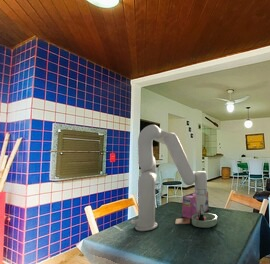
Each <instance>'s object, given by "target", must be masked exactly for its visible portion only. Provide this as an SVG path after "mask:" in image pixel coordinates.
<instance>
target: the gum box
mask: <svg viewBox="0 0 270 264" xmlns="http://www.w3.org/2000/svg"><path fill="white" fill-rule="evenodd" d="M181 198H182V199H181V201H182V202H181V205H182V206H181V207H182V208H181V209H182V211H181V212H182V213H181V214H182V215H181V216H182V218H190V220H192V216H193V215H194V214H198V212H197V211H196V195H195V191H194V192H192V193H188V194H185V195H182V197H181ZM209 209H210V208H209V190H207V195H205V212H204V213H207V212H208V211H209Z"/></svg>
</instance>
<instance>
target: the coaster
mask: <svg viewBox="0 0 270 264" xmlns="http://www.w3.org/2000/svg"><path fill="white" fill-rule="evenodd" d="M190 224H191V219H190V218H185V217H182V218H175V221H174V225H190Z"/></svg>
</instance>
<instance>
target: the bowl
mask: <svg viewBox="0 0 270 264" xmlns="http://www.w3.org/2000/svg"><path fill="white" fill-rule="evenodd" d="M198 215H199V214H194V215H193V216H192V219H191V225H192V226H193V227H196V228H197V227H198V228H201V229H202V228H204V229H205V228H207V229H208V228H211V227H214V226H216V225H217V224H218V216H217V215H216V214H214V213H211V212H204V217H206V221H199V220H196V217H198Z"/></svg>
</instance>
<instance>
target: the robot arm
mask: <svg viewBox="0 0 270 264" xmlns="http://www.w3.org/2000/svg"><path fill="white" fill-rule="evenodd" d="M137 137H138V138H137V155H138V156H137V158H138V161H137V162H138V163H137V164H138V167H139V168H140V175H139V177H138V180H137V191H138V192H137V193H138V203H137V204H138V205H137V208H138V209H137V211H138V212H137V219H131V220H130V221H129V223H130V225H132V226H133V225H135V226H134V229H135V230H136V231H139V232H149V231H152V230H155V229H157V228H158V223H157V222H156V182H157V179H158V176H157V161H156V157H155V155H154V150H153V149H154V147H153V141H155V142H157V143H160V144H163V145H165V146H166V148H167V151H168V153H169V155H170V158H171V159H172V161H173V163H174V165H175V167H176V168H177V172H178V173H179V175H180V178H181V180H182V182H183V184H185V185H186V186H192V185H194V192H195V195H196V211H197V212H198V214H199V215H198V217H199V221H204V213H206V212H205V195H207V191H208V173H207V172H206V171H204V170H198V171H194V170H193V169H192V166H191V164H190V162H189V159H188V157H187V154H186V152H185V150H184V148H183V146H182V143H181V142H180V139H179V138H178V135H177V133H175V132H169V131H166V130H164V129H162V128H160V127H159V126H158V125H156V124H149V125H147V126H145V127H143V129H142V130H140V132H139V134H138V136H137Z"/></svg>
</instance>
